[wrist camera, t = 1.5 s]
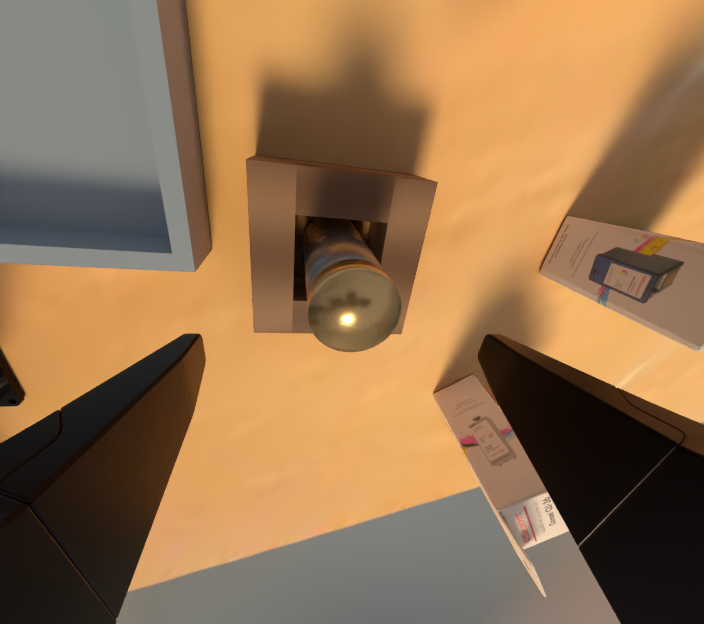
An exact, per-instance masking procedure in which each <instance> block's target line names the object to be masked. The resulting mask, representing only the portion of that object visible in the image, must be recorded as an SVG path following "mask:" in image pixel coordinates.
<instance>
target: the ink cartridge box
mask: <svg viewBox="0 0 704 624" xmlns="http://www.w3.org/2000/svg"><path fill="white" fill-rule="evenodd" d="M433 397H434V399H435V400H436V402H437V404H438V406H439V408H440V410H441V412H442V414H443V416H444V418H445V420H446V422H447V424H448V426H449V428H450V430H451V432H452V434H453V436H454V438H455V440H456V442H457V443H458V445H459V447H460V449H461V451H462V453H463V455H464V457H465V458H466V460H467V462H468V464H469V466H470V468H471V470H472V472H473V474H474V476H475V477H476V479H477V481H478V483H479V485H480V487H481V488H482V490H483V492H484V494H485V496H486V498H487V500H488V501H489V503H490V505H491V507H492V509H493V511H494V513H495V514H496V516H497V518H498V520H499V522H500V523H501V525H502V527H503V529H504V531H505V533H506V534H507V536H508V538H509V540H510V542H511V543H512V545H513V547H514V549H515V551H516V553H517V554H518V556H519V557H520V559H521V561H522V562H523V564H524V565H525V567H526V569H527V570H528V572H529V573H530V575H531V577H532V578H533V580H534V582H535V583H536V585H537V586H538V588H539V590H540V591H541V593H542V594H543V596H545V597H546V594H545V592H544V589H543V587H542V585H541V582H540V580H539V577H538V575H537V572H536V570H535V568H534V566H533V564H532V562H531V560H530V559H529V557H528V556H527V554H526V553H525V551H524V550H523V549H526V548H528V547H531V546H533V545H535V544H538V543H540V542H543V541H545V540H548V539H550V538H553V537H555V536H558V535H560V534H562V533H564V532H567V531H569V530H568V528H567V526H566V524H565V522H564V521H563V519H562V517H561V515H560V514H559V512H558V510H557V508H556V506H555V505H554V503H553V501H552V499H551V497H550V496H549V494H548V492H547V490H546V489H545V487H544V485H543V483H542V481H541V480H540V478H539V476H538V474H537V472H536V471H535V469H534V467H533V465H532V463H531V462H530V460H529V458H528V456H527V455H526V453H525V451H524V449H523V447H522V446H521V444H520V442H519V440H518V438H517V437H516V435H515V433H514V431H513V430H512V428H511V426H510V424H509V422H508V421H507V419H506V417H505V415H504V413H503V412H502V410H501V409H500V408H499V407H498V405H497V404H496V403H495V401H494V400H493V399H492V398H491V396H490V395H489V394H488V392H487V391H486V390H485V389H484V387H483V386H482V385H481V383H480V382H479V381H478V379H477V378H476V377H475V375H474V374H472V375H470V376H468V377H466V378H464V379H462V380H460V381H458V382H456V383H454V384H452V385H450V386H448V387H446V388H444V389H442V390H440V391H438V392H436V393H434V394H433Z"/></svg>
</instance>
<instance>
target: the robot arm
mask: <svg viewBox="0 0 704 624" xmlns="http://www.w3.org/2000/svg"><path fill="white" fill-rule="evenodd" d="M478 360H479V363H480V365H481V367H482V369H483V372H484V374H485V376H486V379H487V381H488V383H489V386H490V388H491V390H492V392H493V395H494V397H495V399H496V401H497V403H498V405H499V406H500V408H501V410H502V412H503V413H504V415H505V417H506V419H507V421H508V422H509V424H510V426H511V428H512V430H513V431H514V433H515V435H516V437H517V438H518V440H519V442H520V444H521V446H522V447H523V449H524V451H525V453H526V455H527V456H528V458H529V460H530V462H531V463H532V465H533V467H534V469H535V471H536V472H537V474H538V476H539V478H540V480H541V481H542V483H543V485H544V487H545V489H546V490H547V492H548V494H549V496H550V497H551V499H552V501H553V503H554V505H555V506H556V508H557V510H558V512H559V514H560V515H561V517H562V519H563V521H564V522H565V524H566V526H567V528H568V530H569V531H570V533H571V535H572V537H573V538H574V540H575V542H576V544H577V545H578V546H579V550H580V551H581V553H582V555H583V557H584V559H585V560H586V562H587V564H588V566H589V568H590V569H591V571H592V573H593V575H594V577H595V578H596V580H597V582H598V584H599V586H600V587H601V589H602V591H603V593H604V594H605V596H606V598H607V600H608V601H609V603H610V605H611V607H612V609H613V610H614V612H615V614H616V616H617V618H618V620H619V621H620V623H621V624H704V425H703V424H701V423H698V422H696V421H694V420H691V419H689V418H686V417H684V416H681V415H679V414H677V413H674V412H672V411H670V410H667V409H665V408H663V407H660V406H658V405H655V404H653V403H651V402H649V401H646V400H644V399H642V398H640V397H637V396H635V395H633V394H631V393H628V392H626V391H624V390H622V389H620V388H616V387H615V386H613V385H611V384H608V383H606V382H604V381H602V380H600V379H597V378H595V377H593V376H591V375H588V374H586V373H584V372H582V371H580V370H577V369H575V368H573V367H571V366H569V365H566V364H564V363H562V362H560V361H558V360H555V359H553V358H551V357H549V356H547V355H544V354H542V353H540V352H538V351H535V350H533V349H531V348H529V347H527V346H524V345H522V344H520V343H518V342H516V341H513V340H511V339H509V338H507V337H505V336H502V335H500V334H488V335H486V336H485V338H484V340H483V342H482V345H481V348H480V350H479V353H478ZM205 361H206V359H205V351H204V345H203V339H202V336H201V335H200V334H183V335H182V336H180V337H178V338H177V339H175V340H173V341H172V342H170V343H168V344H167V345H165V346H163V347H162V348H160V349H158V350H157V351H155V352H153V353H152V354H150V355H148V356H147V357H145V358H143V359H142V360H140V361H138V362H137V363H135V364H133V365H132V366H130V367H128V368H127V369H125V370H123V371H122V372H120V373H118V374H117V375H115V376H114V377H112V378H110V379H109V380H107V381H105V382H104V383H102V384H100V385H99V386H97V387H95V388H94V389H92V390H90V391H89V392H87V393H85V394H84V395H82V396H80V397H79V398H77V399H75V400H74V401H72V402H70V403H69V404H67V405H65V406H64V407H62V408H61V411H60V410H57V411H55V412H53V413H52V414H50V415H48V416H47V417H45V418H43V419H42V420H40V421H38V422H37V423H35V424H33V425H32V426H30V427H28V428H26V429H25V430H23V431H21V432H20V433H18V434H16V435H14V436H13V437H11V438H9V439H8V440H6V441H4V442H2V443H0V624H116V618H117V617H118V615H119V613H120V610H121V607H122V605H123V602H124V599H125V597H126V594H127V591H128V588H129V586H130V583H131V580H132V578H133V575H134V572H135V570H136V567H137V564H138V562H139V559H140V556H141V554H142V551H143V548H144V545H145V543H146V540H147V537H148V535H149V532H150V529H151V527H152V524H153V521H154V519H155V516H156V513H157V510H158V508H159V505H160V502H161V500H162V497H163V494H164V492H165V489H166V486H167V484H168V481H169V478H170V476H171V473H172V470H173V467H174V465H175V462H176V459H177V457H178V454H179V451H180V449H181V446H182V443H183V441H184V438H185V435H186V433H187V430H188V427H189V424H190V422H191V419H192V416H193V413H194V410H195V406H196V402H197V397H198V393H199V389H200V385H201V380H202V376H203V372H204V367H205ZM23 401H24V396H23V394H22V393H21V391H20V389H19V387H18V386H17V384H16V382H15V380H14V378H13V377H12V375H11V373H10V371H9V369H8V368H7V366H6V364H5V362H4V361H3V359H2V357H1V355H0V407H1V406H18V405H20V404H21V403H22V402H23Z"/></svg>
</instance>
